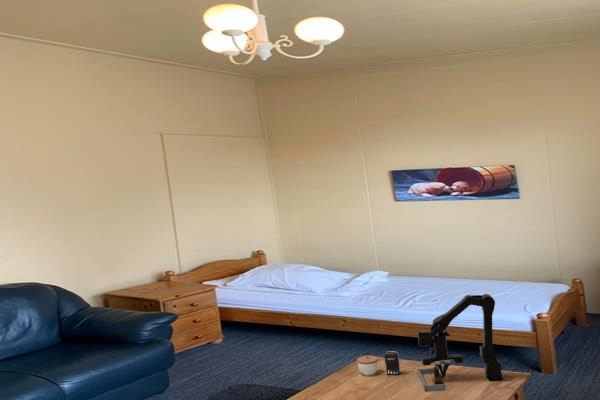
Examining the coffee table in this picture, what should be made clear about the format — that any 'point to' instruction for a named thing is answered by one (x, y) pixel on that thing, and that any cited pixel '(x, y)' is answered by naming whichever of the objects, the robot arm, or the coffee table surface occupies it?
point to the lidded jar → (368, 365)
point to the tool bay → (429, 387)
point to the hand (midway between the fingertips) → (443, 377)
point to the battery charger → (392, 363)
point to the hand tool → (437, 376)
